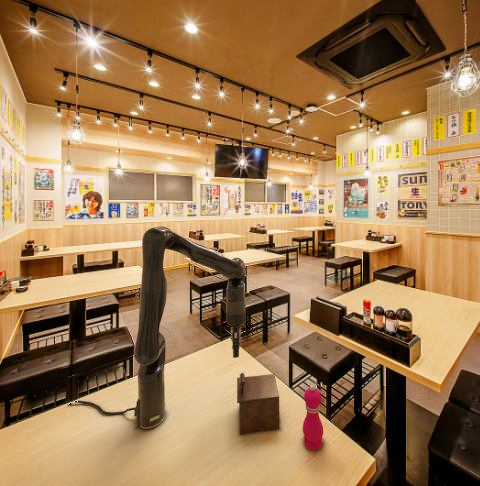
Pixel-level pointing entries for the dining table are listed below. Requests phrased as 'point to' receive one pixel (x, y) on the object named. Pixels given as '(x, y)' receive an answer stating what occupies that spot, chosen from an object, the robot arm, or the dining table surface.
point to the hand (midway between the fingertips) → (236, 350)
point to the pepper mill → (312, 419)
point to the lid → (256, 388)
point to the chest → (259, 416)
